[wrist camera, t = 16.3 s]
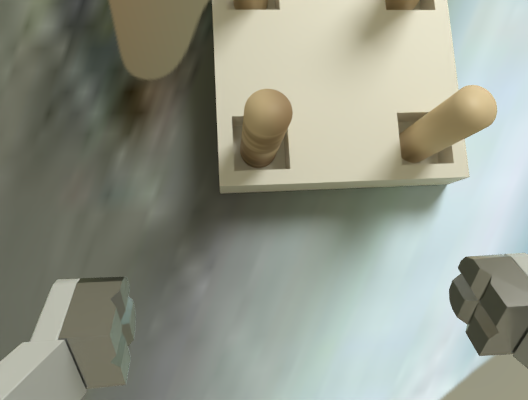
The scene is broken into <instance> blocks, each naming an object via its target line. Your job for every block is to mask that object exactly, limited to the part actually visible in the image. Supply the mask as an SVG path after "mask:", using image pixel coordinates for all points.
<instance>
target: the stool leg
mask: <svg viewBox="0 0 528 400" xmlns="http://www.w3.org/2000/svg"><path fill="white" fill-rule="evenodd" d="M292 115H293V111H292V106H291V103H290V101H289V100H288V98H287V97H286V96H285V95H284V94H282V93H281V92H279V91H277V90H274V89H261V90H258V91H256V92H254V93H253V94H252V95H251V96H250V97H249V98H248V100H247V101H246V104H245V107H244V116H243V126H242V135H241V145H240V154H241V157H242V159H243V161H244V162H245V163H246V164H247V165H249V166H251V167H254V168H263V167H266V166H268V165H269V164H270V163H271V162H272V161H273V160H274V158H275V156H276V153H277V151H278V149H279V147H280V145H281V142H282V140H283V138H284V136H285V133H286V131H287V129H288V127H289V125H290V122H291V120H292Z"/></svg>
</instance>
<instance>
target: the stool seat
mask: <svg viewBox="0 0 528 400" xmlns="http://www.w3.org/2000/svg"><path fill="white" fill-rule="evenodd" d="M212 12H213V36H214V60H215V85H216V109H217V133H218V158H219V182H220V193H245V192H270V191H295V190H320V189H345V188H370V187H394V186H419V185H444V184H450V183H453V182H456V181H459V180H462V179H465V178H468V177H469V169H468V161H467V153H466V145H465V138H467V137H469V136H471V135H473V134H475V133H477V132H479V131H481V130H483V129H484V128H486V127H488V126H490V125H491V124H492V123H493V121H494V120H495V118H496V114H497V105H496V102H495V99H494V98H493V96H492V95H491V93H490V92H489V91H487V90H486V89H484V88H483V87H480V86H476V85H469V86H465V87H463V88H461V89H460V90H458V82H457V74H456V66H455V58H454V50H453V42H452V34H451V26H450V18H449V11H448V3H447V0H212ZM261 89H274V90H277V91H279V92H281V93H282V94H284V95H285V96H286V97H287V98H288V100H289V101H290V103H291V106H292V111H293V115H292V120H291V122H290V125H289V127H288V129H287V131H286V133H285V136H284V138H283V140H282V142H281V145H280V147H279V149H278V151H277V153H276V156H275V158H274V160H273V161H272V162H271V163H270V164H269V165H268V166H266V167H263V168H254V167H251V166H249V165H247V164H246V163H245V162H244V161H243V159H242V157H241V154H240V145H241V135H242V126H243V116H244V107H245V104H246V101H247V100H248V98H249V97H250V96H251V95H252V94H253V93H254V92H256V91H258V90H261Z"/></svg>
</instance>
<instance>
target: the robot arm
mask: <svg viewBox="0 0 528 400" xmlns="http://www.w3.org/2000/svg"><path fill="white" fill-rule="evenodd" d="M458 269H459V271H460V272H461V274H460V275H459V276H457V277H456V278H455V279H454V280H453V281H452V283H451V286H450V289H449V298H450V303H451V306H452V309H453V311H454V313H455V314H456V316H457V317H458V318H459V319H460V320H462V321H463V322H465V323H466V324H467V328H466V334H467V336H468V337H469V339H470V341H471V342H472V344H473V346H474V348H475V349H476V351H477V353H478V355H479V356H487V355H506V354H513V357H515V358H516V359H517V360H518V361H519V362H521V363H522V364H523V365H524V366H525V367H527V368H528V254H526V253H516V254H504V255H502V254H499V255H484V256H470V257H465V258H464V259H463V260H461V262H460V264H459V267H458ZM129 291H130V286H129V282H128V279H127V278H126V277H105V278H80V279H58V280H57V281H56V282H55V283H54V284H53V285H52V287H51V290H50V292H49V295H48V297H47V300H46V302H45V305H44V307H43V310H42V312H41V315H40V317H39V320H38V322H37V325H36V327H35V330H34V332H33V335H32V337H31V340H30V342H23V343H21V344H20V345H19V346H18V347H17V348H15V349H14V350H13V351H12V352H11V353H10V354H8V355H7V356H6V357H5V358H4V359H3V360H2V361H0V400H80V399H81V398H82V397H83V396H84V394H85V393H86V392H87V390H86V389H91V388H100V387H109V386H119V385H126V382H127V376H128V370H129V365H130V359H131V357H130V353H129V349H128V346H129V345H130V344H131V343H132V342H133V340H134V335H135V326H136V313H135V306H134V301H133V300H132V299H131V298H129V297H128V296H129Z"/></svg>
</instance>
